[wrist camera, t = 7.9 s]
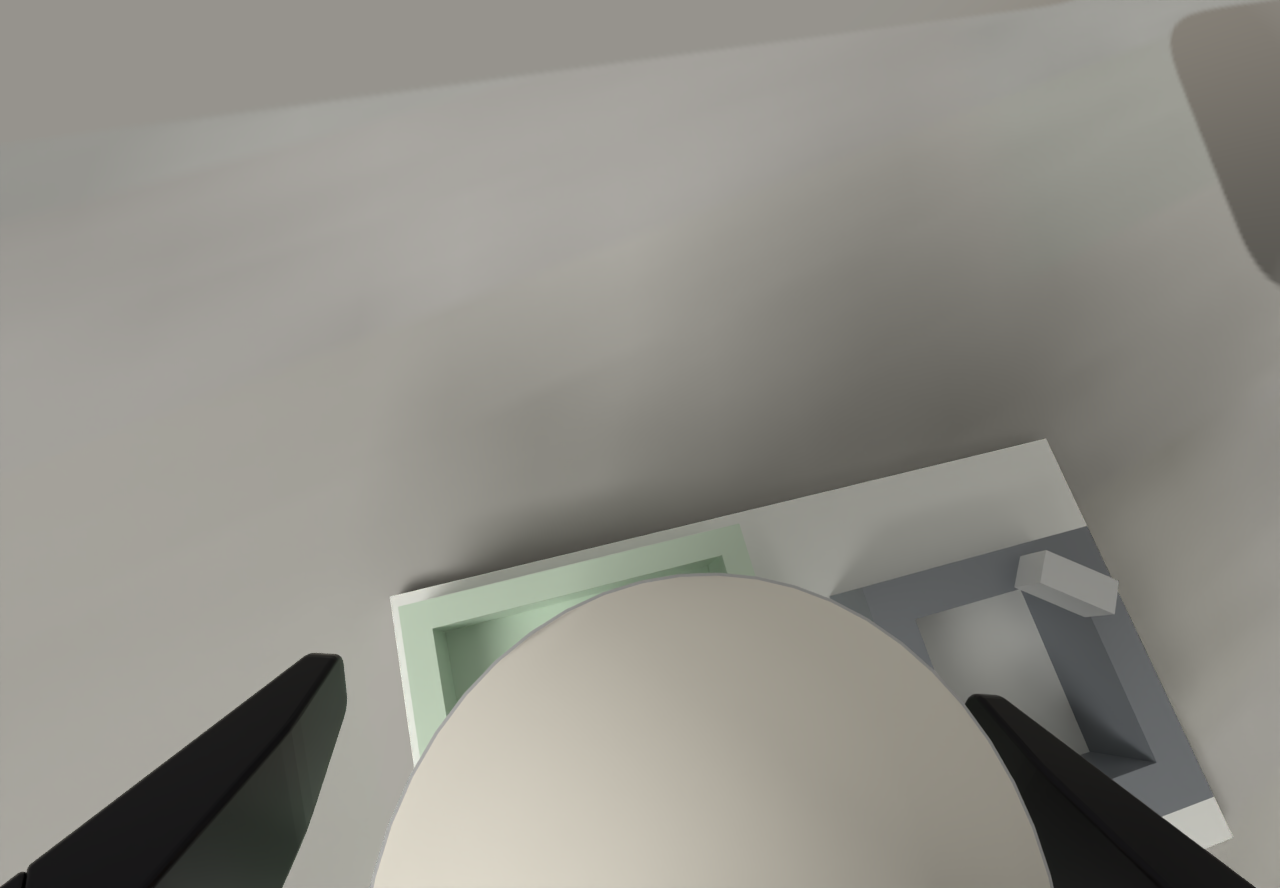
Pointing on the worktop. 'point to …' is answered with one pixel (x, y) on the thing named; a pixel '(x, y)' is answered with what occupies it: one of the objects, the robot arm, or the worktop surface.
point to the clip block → (1065, 653)
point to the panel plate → (901, 545)
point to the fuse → (710, 757)
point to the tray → (533, 613)
